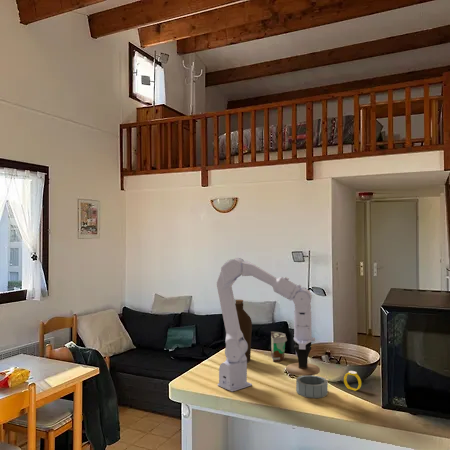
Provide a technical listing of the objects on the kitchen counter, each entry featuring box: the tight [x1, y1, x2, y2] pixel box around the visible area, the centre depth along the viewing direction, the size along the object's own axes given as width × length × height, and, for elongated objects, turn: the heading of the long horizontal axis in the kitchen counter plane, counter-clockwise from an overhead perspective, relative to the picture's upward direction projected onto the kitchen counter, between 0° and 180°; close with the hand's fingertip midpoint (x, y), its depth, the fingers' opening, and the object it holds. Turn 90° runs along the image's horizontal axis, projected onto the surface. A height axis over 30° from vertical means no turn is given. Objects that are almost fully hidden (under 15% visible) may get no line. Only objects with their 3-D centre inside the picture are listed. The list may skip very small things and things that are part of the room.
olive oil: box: [235, 299, 253, 363], centre depth 178 cm, size 11×11×25 cm
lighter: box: [321, 354, 331, 363], centre depth 156 cm, size 7×2×8 cm, turn 38°
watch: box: [343, 370, 362, 392], centre depth 146 cm, size 6×3×6 cm, turn 43°
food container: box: [270, 331, 288, 363], centre depth 181 cm, size 12×6×10 cm, turn 179°
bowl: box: [295, 375, 329, 399], centre depth 143 cm, size 10×10×4 cm
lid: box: [286, 360, 321, 376], centre depth 144 cm, size 11×11×4 cm
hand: (303, 365), depth 144 cm, fingers closed on lid, 3 cm apart
